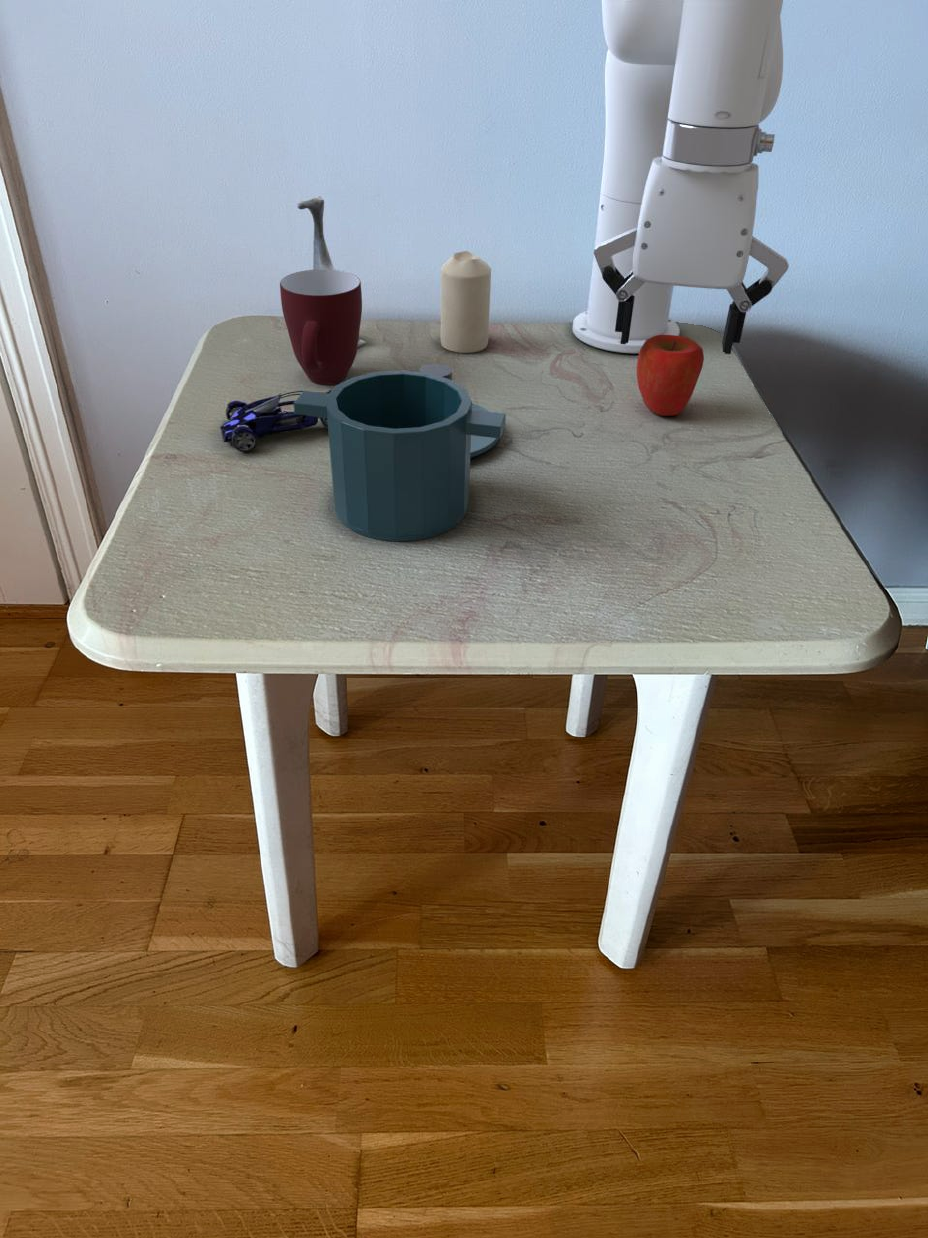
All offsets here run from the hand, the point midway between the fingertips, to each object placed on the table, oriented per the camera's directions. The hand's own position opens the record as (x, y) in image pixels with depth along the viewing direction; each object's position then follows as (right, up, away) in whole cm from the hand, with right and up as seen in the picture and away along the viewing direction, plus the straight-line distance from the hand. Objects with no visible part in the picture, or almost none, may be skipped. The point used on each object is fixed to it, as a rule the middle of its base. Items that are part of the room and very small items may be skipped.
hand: (675, 344), depth 86 cm
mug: (-35, -2, +9) cm, 36 cm away
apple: (0, -5, +5) cm, 7 cm away
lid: (-23, -8, -1) cm, 25 cm away
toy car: (-37, -9, -1) cm, 38 cm away
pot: (-26, -17, -10) cm, 32 cm away
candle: (-20, +5, +18) cm, 27 cm away
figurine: (-35, +5, +17) cm, 39 cm away
